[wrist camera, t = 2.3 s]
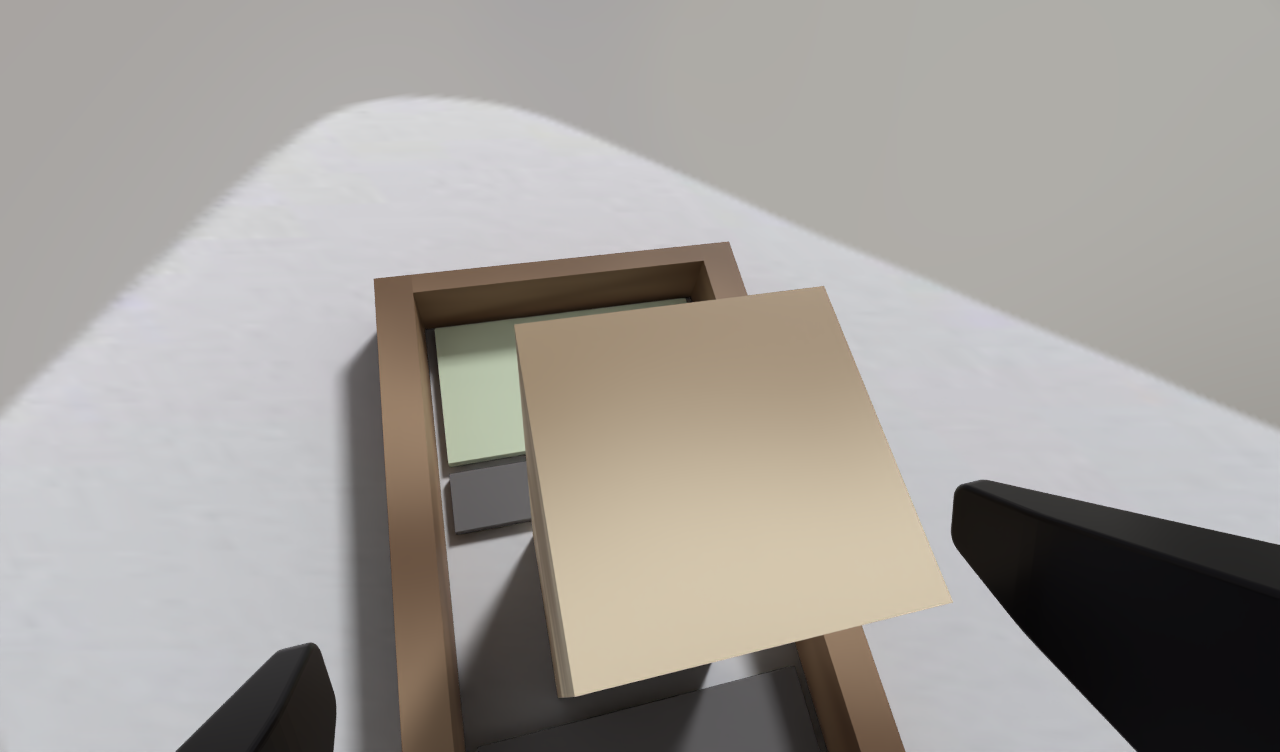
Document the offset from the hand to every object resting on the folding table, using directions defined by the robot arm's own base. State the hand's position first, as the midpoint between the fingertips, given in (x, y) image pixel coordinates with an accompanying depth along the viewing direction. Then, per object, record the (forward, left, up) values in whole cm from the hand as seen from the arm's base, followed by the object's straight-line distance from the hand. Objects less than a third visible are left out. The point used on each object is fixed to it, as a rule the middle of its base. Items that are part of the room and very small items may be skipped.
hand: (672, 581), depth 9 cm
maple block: (+1, 0, -9) cm, 9 cm away
